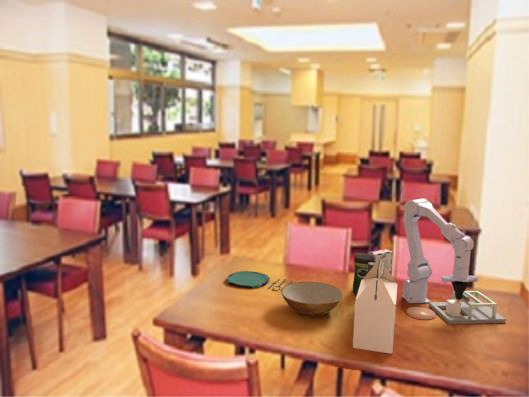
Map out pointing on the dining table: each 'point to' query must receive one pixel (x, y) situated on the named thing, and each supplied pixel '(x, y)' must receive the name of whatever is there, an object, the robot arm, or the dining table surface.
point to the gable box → (375, 311)
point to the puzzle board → (477, 314)
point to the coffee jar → (361, 269)
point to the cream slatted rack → (476, 301)
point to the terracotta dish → (421, 313)
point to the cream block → (453, 308)
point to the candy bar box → (383, 257)
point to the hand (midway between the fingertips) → (458, 298)
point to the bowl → (311, 297)
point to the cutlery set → (250, 279)
